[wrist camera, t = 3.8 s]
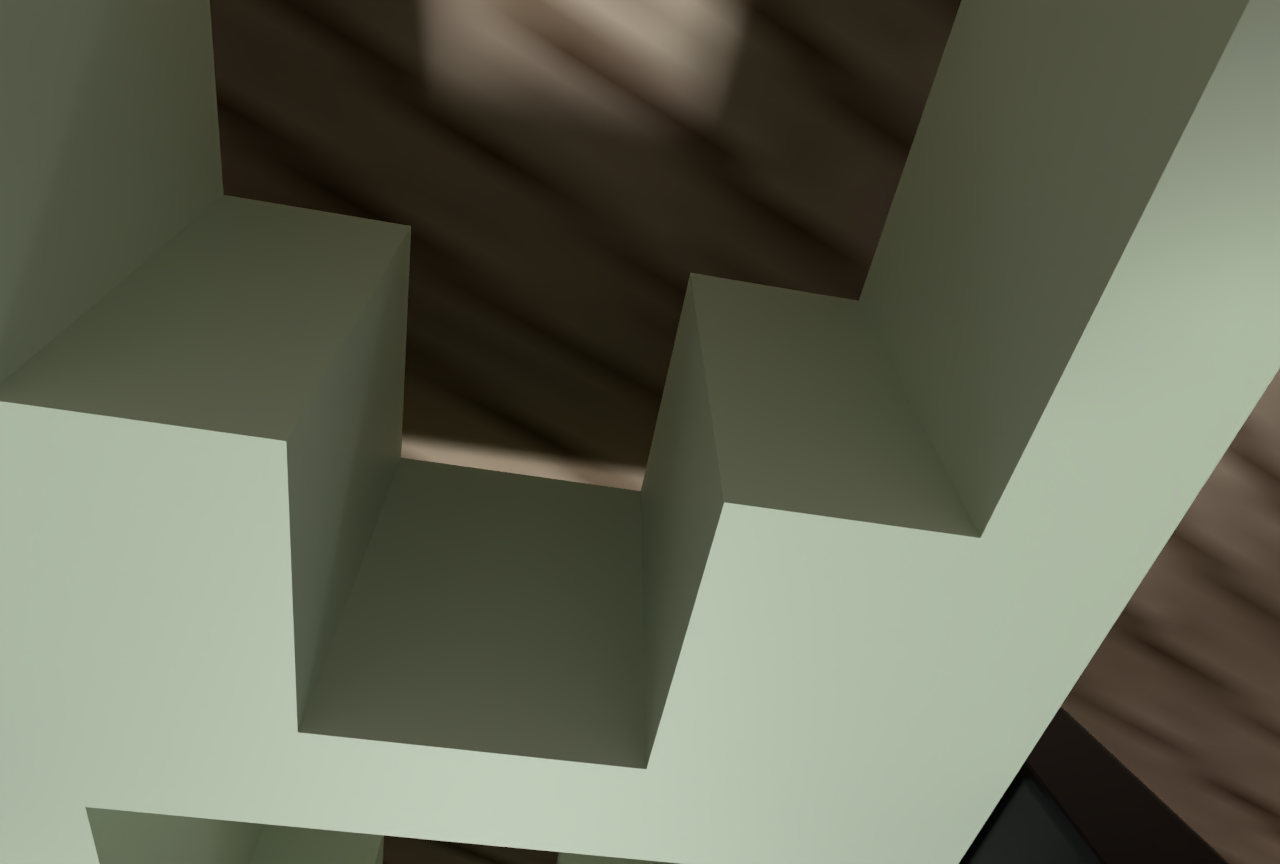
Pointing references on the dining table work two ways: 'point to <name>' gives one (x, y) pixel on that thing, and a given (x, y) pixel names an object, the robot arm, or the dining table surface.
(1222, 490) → the dining table surface
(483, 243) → the dining table surface
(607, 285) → the dining table surface
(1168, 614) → the dining table surface
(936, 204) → the panel
